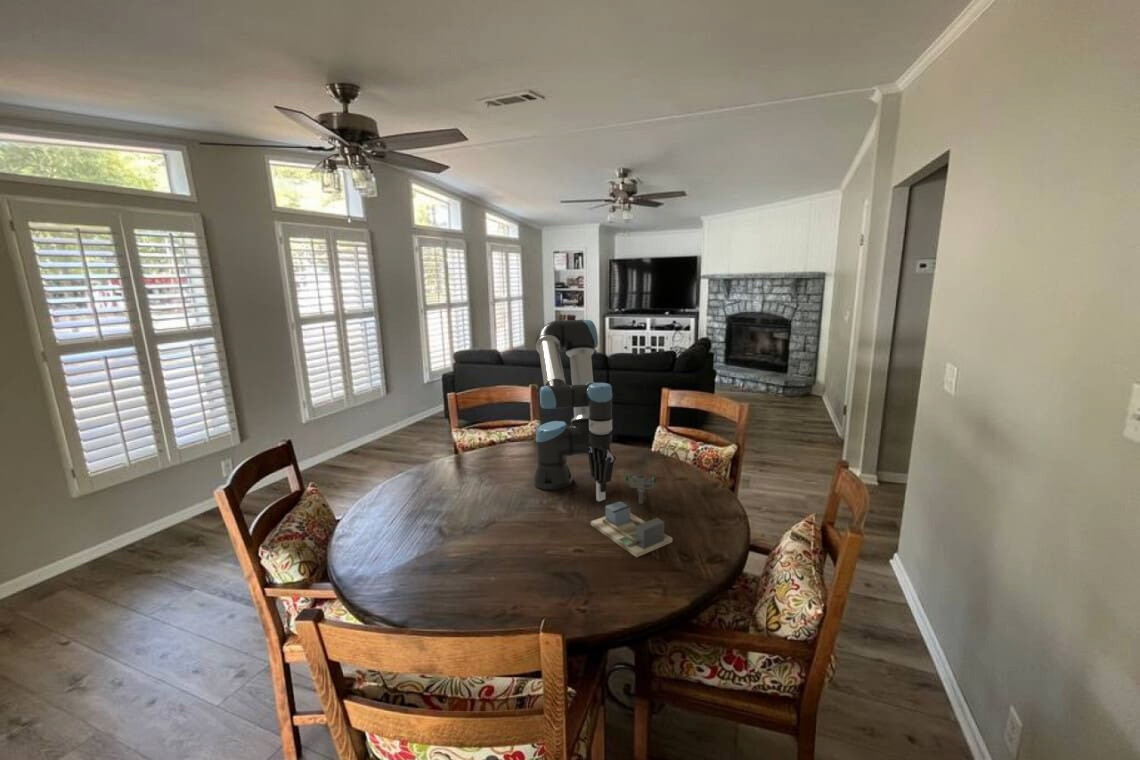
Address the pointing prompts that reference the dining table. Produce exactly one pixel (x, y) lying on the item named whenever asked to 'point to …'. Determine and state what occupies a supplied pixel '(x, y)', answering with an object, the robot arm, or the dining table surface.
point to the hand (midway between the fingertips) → (600, 499)
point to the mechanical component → (640, 484)
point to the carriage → (617, 513)
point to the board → (627, 534)
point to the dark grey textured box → (650, 533)
